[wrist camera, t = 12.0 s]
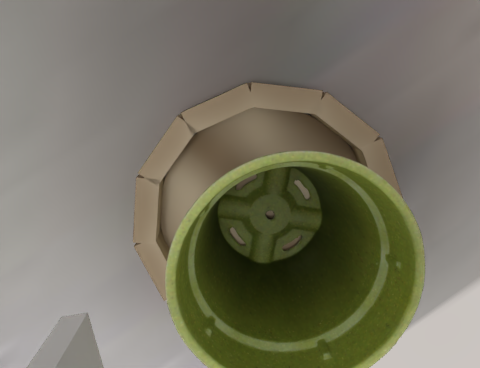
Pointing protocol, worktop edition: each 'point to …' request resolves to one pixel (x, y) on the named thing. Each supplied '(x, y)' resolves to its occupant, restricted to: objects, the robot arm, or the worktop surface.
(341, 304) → the plant pot
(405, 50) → the worktop surface
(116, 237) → the worktop surface
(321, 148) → the round wooden tray
